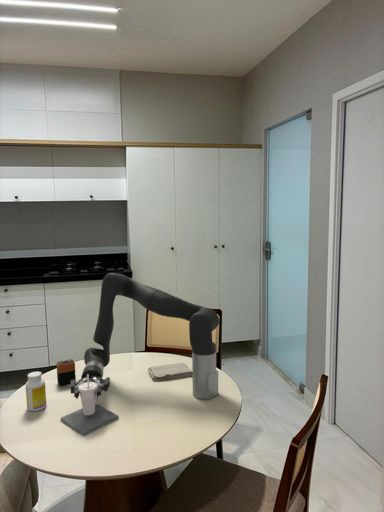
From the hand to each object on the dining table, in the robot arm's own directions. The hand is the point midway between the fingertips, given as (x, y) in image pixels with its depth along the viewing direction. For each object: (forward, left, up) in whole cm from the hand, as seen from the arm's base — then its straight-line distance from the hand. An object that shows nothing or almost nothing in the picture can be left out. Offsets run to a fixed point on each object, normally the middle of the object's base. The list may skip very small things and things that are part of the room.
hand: (87, 395), depth 133 cm
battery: (+34, -12, -10) cm, 37 cm away
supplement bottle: (+24, +6, -10) cm, 27 cm away
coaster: (+2, -2, -10) cm, 10 cm away
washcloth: (+8, -46, -11) cm, 48 cm away
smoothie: (+2, -2, -8) cm, 8 cm away
